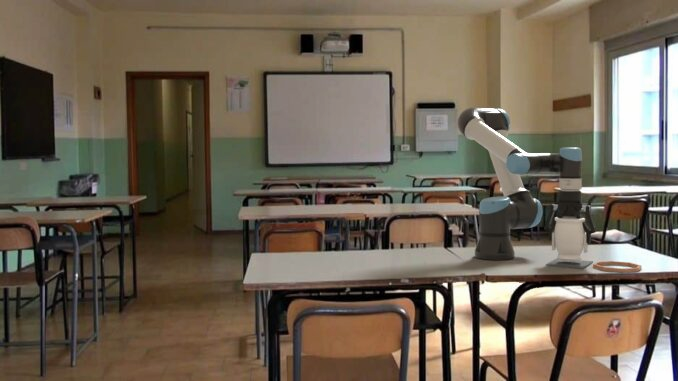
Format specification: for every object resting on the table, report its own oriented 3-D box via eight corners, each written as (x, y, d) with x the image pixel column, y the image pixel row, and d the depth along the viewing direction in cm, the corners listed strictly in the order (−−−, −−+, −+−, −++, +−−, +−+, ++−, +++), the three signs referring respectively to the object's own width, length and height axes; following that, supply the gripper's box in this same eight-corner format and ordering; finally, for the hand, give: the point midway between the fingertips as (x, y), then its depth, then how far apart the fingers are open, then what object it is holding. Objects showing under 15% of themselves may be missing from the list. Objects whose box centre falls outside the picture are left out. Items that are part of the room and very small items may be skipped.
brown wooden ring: (590, 269, 214) (590, 266, 214) (599, 263, 226) (599, 260, 226) (636, 273, 206) (636, 270, 206) (643, 266, 218) (643, 263, 218)
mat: (545, 265, 222) (545, 264, 222) (556, 259, 235) (556, 258, 235) (583, 269, 215) (583, 267, 215) (592, 262, 227) (592, 261, 227)
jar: (548, 257, 228) (548, 216, 227) (571, 255, 231) (572, 215, 231) (566, 262, 218) (567, 219, 217) (591, 260, 221) (591, 218, 220)
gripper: (535, 190, 227) (534, 249, 228) (602, 191, 214) (601, 255, 215) (541, 188, 233) (540, 247, 234) (606, 190, 220) (605, 252, 221)
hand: (569, 251), depth 225 cm, fingers closed on jar, 10 cm apart
